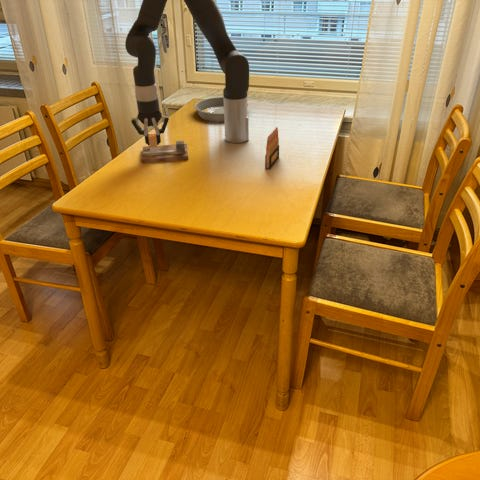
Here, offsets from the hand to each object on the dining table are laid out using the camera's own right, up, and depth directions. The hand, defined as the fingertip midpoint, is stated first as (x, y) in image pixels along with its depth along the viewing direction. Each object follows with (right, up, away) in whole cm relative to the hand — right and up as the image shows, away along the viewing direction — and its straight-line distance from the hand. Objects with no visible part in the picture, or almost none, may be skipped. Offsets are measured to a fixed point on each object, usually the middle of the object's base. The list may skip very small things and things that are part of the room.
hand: (153, 144), depth 167 cm
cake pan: (+23, +23, +43) cm, 54 cm away
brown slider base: (+3, -3, +6) cm, 7 cm away
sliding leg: (0, -2, +4) cm, 4 cm away
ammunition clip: (+43, -8, -2) cm, 44 cm away
